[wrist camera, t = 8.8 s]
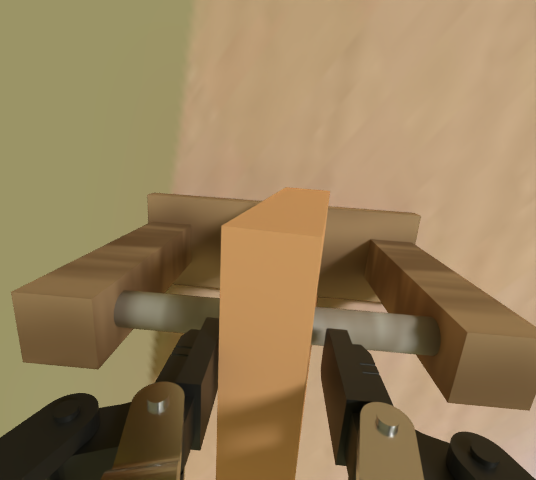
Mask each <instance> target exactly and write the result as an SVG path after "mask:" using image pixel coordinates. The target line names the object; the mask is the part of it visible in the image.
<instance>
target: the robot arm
mask: <svg viewBox="0 0 536 480" xmlns="http://www.w3.org/2000/svg"><path fill="white" fill-rule="evenodd" d="M218 362H219V318H212V317H207V318H206V319H205V321H204V323H203V326H202V328H201V330H197V329H190V330H189V331H188V332H186V333H185V334H184V335H182V336H181V338H180V339H179V341H178V343H177V345H176V347H175V348H174V350H173V352H172V354H171V355H170V357H169V359H168V361H167V362H166V364H165V366H164V368H163V369H162V371H161V373H160V375H159V376H158V378H157V380H156V382H155V383H153V384H150V385H148V386H146V387H144V388H143V389H141V390H140V391H139V392H137V394H136V395H135V396H134V398H133V399H132V402H129V403H126V404H121V405H115V406H110V407H103V408H99V407H98V401H97V399H96V398H95V397H94V396H92V395H90V394H86V393H76V394H70V395H67V396H64V397H61V398H59V399H57V400H55V401H53V402H52V403H50V404H48V405H47V406H45V407H44V408H42V409H41V410H40V411H38V412H37V413H35V414H34V415H32V416H31V417H29V418H28V419H27V420H25V421H24V422H22V423H21V424H19V425H18V426H16V427H15V428H14V429H12V430H11V431H9V432H8V433H6V434H5V435H3V436H2V437H1V438H0V480H184V479H185V465H186V462H187V459H188V456H189V453H190V450H201V446H202V443H203V439H204V436H205V432H206V429H207V425H208V421H209V418H210V414H211V411H212V407H213V404H214V400H215V397H216V393H217V390H218ZM321 381H322V387H323V393H324V399H325V405H326V411H327V417H328V423H329V429H330V435H331V441H332V447H333V453H334V459H335V465H342V466H347V471H348V476H349V477H348V480H536V479H534V478H533V477H532V476H531V475H530V474H529V473H528V472H527V471H526V470H525V469H524V468H522V467H521V466H520V465H519V464H518V463H517V462H516V461H515V460H514V459H513V458H512V457H511V456H509V455H508V454H507V453H506V452H505V451H504V450H503V449H502V448H500V447H499V446H498V445H496V444H495V443H494V442H492V441H490V440H489V439H487V438H485V437H483V436H480V435H478V434H475V433H471V432H458V433H456V434H454V435H453V436H452V438H451V441H450V443H447V442H444V441H442V440H439V439H436V438H433V437H430V436H428V435H425V434H423V433H421V432H419V431H417V430H415V428H414V425H413V423H412V422H411V420H410V419H409V418H408V417H407V416H406V415H405V414H404V413H403V412H402V411H400V410H399V409H397V408H396V407H394V406H393V404H392V402H391V399H390V397H389V395H388V393H387V390H386V388H385V386H384V383H383V381H382V379H381V377H380V375H379V372H378V370H377V367H376V366H375V363H374V361H373V358H372V356H371V354H370V353H369V352H368V351H367V350H366V349H365V348H364V347H363V346H362V345H359V344H352V341H351V339H350V336H349V333H348V331H347V330H343V329H332V328H327V330H326V334H325V341H324V348H323V355H322V363H321Z"/></svg>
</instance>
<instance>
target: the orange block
mask: <svg viewBox="0 0 536 480" xmlns="http://www.w3.org/2000/svg"><path fill="white" fill-rule="evenodd" d="M329 195H330V191H323V190H311V189H299V188H287V187H286V188H284V189H282V190H281V191H279V192H277V193H276V194H274V195H272V196H271V197H269V198H267V199H266V200H264V201H262V202H261V203H259V204H257V205H256V206H254V207H252V208H250V209H249V210H247V211H245V212H244V213H242V214H240V215H239V216H237V217H235V218H234V219H232V220H230V221H229V222H227V223H225V224H224V225H222V226H221V268H220V315H219V362H218V409H217V456H216V480H295V474H296V466H297V458H298V450H299V442H300V435H301V427H302V419H303V411H304V403H305V395H306V387H307V379H308V371H309V363H310V355H311V347H312V345H311V339H312V330H313V322H314V313H315V307H316V306H317V297H318V295H317V288H318V281H319V273H320V266H321V259H322V252H323V244H324V237H325V229H326V220H327V212H328V203H329Z"/></svg>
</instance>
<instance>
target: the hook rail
mask: <svg viewBox="0 0 536 480" xmlns="http://www.w3.org/2000/svg"><path fill="white" fill-rule="evenodd" d="M147 197H148V224H146V225H144V226H142V227H140V228H138V229H136V230H134V231H132V232H130V233H128V234H126V235H124V236H122V237H120V238H119V239H116V240H114V241H112V242H110V243H108V244H106V245H104V246H102V247H100V248H98V249H96V250H94V251H92V252H90V253H88V254H86V255H84V256H82V257H80V258H78V259H76V260H74V261H72V262H70V263H68V264H66V265H64V266H62V267H60V268H58V269H56V270H54V271H52V272H50V273H48V274H46V275H44V276H42V277H40V278H38V279H36V280H34V281H32V282H30V283H28V284H26V285H24V286H22V287H20V288H18V289H16V290H14V291H12V292H11V295H12V300H13V306H14V312H15V318H16V323H17V330H18V335H19V341H20V347H21V353H22V359H23V362H26V363H38V364H48V365H58V366H68V367H69V366H70V367H79V368H89V369H99V368H100V367H101V366H102V364H103V363H104V362H105V361H106V360H107V359H108V358H109V356H110V355H111V354H112V353H113V352H114V351H115V349H116V348H117V347H118V346H119V345H120V344H121V342H122V341H123V340H124V339H125V338H126V337H127V335H128V334H129V333H130V332H131V331H132V330H133V329H144V330H155V331H166V332H177V333H186V332H188V331H189V330H190V329H197V330H201V328H202V326H203V323H204V321H205V319H206V318H207V317H212V318H219V315H220V298H210V297H198V296H187V295H176V294H164V293H165V292H166V291H167V290H168V288H169V287H170V286H171V285H172V284H178V285H189V286H201V287H212V288H220V268H221V226H222V225H224V224H225V223H227V222H229V221H230V220H232V219H234V218H235V217H237V216H239V215H240V214H242V213H244V212H245V211H247V210H249V209H250V208H252V207H254V206H256V205H257V204H259V203H261V202H262V201H253V200H240V199H228V198H215V197H202V196H189V195H176V194H163V193H151V194H148V195H147ZM420 219H421V216H420V215H417V214H415V213H407V212H394V211H381V210H369V209H356V208H343V207H330V206H328V212H327V220H326V229H325V237H324V244H323V252H322V259H321V266H320V273H319V281H318V288H317V295H318V297H328V298H339V299H351V300H362V301H374V302H381V303H382V304H383V306H384V307H385V309H386V310H387V312H388V313H381V312H370V311H358V310H347V309H335V308H324V307H315V313H314V322H313V330H312V339H311V345H320V346H324V341H325V334H326V330H327V328H332V329H343V330H347V331H348V333H349V336H350V339H351V341H352V344H359V345H362V346H363V347H364V348H365V349H366V350H374V351H385V352H396V353H407V354H416V355H417V357H418V358H419V360H420V361H421V363H422V364H423V366H424V367H425V369H426V370H427V372H428V373H429V375H430V376H431V378H432V379H433V381H434V382H435V384H436V385H437V387H438V388H439V390H440V391H441V393H442V394H443V396H444V397H445V399H446V401H447V402H448V403H456V404H466V405H477V406H487V407H498V408H508V409H519V410H529V411H530V408H531V405H532V403H533V400H534V397H535V395H536V327H535V326H534V325H532V324H531V323H529V322H528V321H526V320H525V319H524V318H522V317H521V316H519V315H518V314H516V313H515V312H513V311H512V310H510V309H509V308H507V307H506V306H504V305H503V304H501V303H500V302H498V301H497V300H496V299H494V298H493V297H491V296H490V295H488V294H487V293H485V292H484V291H482V290H481V289H479V288H478V287H476V286H475V285H473V284H472V283H470V282H469V281H468V280H466V279H465V278H463V277H462V276H460V275H459V274H457V273H456V272H454V271H453V270H451V269H450V268H448V267H447V266H445V265H444V264H442V263H441V262H440V261H438V260H437V259H435V258H434V257H432V256H431V255H429V254H428V253H426V252H425V251H423V250H422V249H420V248H419V247H417V246H416V245H415V242H416V238H417V233H418V228H419V223H420Z"/></svg>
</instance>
